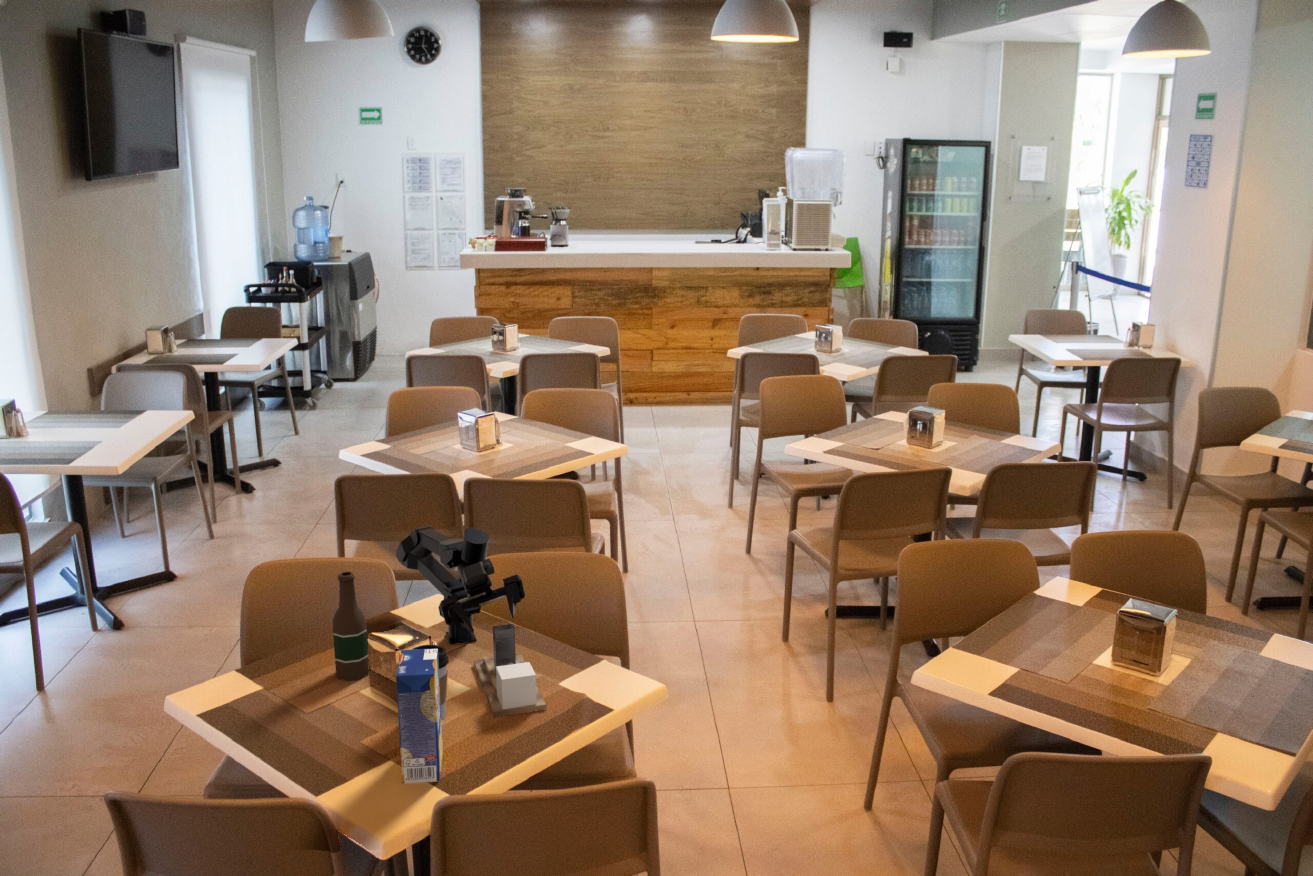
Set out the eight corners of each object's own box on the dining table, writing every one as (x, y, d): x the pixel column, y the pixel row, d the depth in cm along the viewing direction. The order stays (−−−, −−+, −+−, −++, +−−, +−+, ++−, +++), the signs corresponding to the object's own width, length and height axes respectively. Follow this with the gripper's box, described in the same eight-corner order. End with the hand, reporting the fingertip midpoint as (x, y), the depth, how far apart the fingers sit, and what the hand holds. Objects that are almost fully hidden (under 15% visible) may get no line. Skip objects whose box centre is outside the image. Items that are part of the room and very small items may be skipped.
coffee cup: (429, 731, 225) (425, 663, 221) (401, 718, 230) (397, 652, 226) (459, 715, 231) (457, 649, 228) (432, 702, 236) (429, 638, 233)
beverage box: (442, 750, 218) (437, 648, 212) (439, 781, 207) (434, 674, 202) (407, 753, 217) (401, 649, 211) (402, 784, 206) (395, 676, 201)
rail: (474, 665, 253) (473, 655, 253) (521, 659, 257) (521, 648, 256) (494, 717, 230) (494, 706, 230) (546, 709, 234) (546, 698, 233)
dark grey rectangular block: (494, 672, 247) (492, 626, 244) (513, 669, 248) (512, 623, 246) (502, 691, 238) (501, 644, 236) (522, 688, 240) (521, 641, 237)
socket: (497, 695, 237) (496, 666, 235) (530, 690, 239) (529, 661, 238) (502, 709, 231) (501, 679, 230) (536, 704, 234) (535, 674, 232)
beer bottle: (375, 666, 253) (369, 567, 246) (363, 682, 245) (356, 581, 239) (342, 664, 253) (335, 566, 247) (329, 680, 246) (321, 579, 240)
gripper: (427, 567, 248) (444, 613, 236) (507, 540, 253) (527, 583, 241) (437, 602, 255) (454, 648, 243) (515, 575, 259) (535, 619, 248)
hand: (493, 624), depth 243 cm, fingers open, 9 cm apart
